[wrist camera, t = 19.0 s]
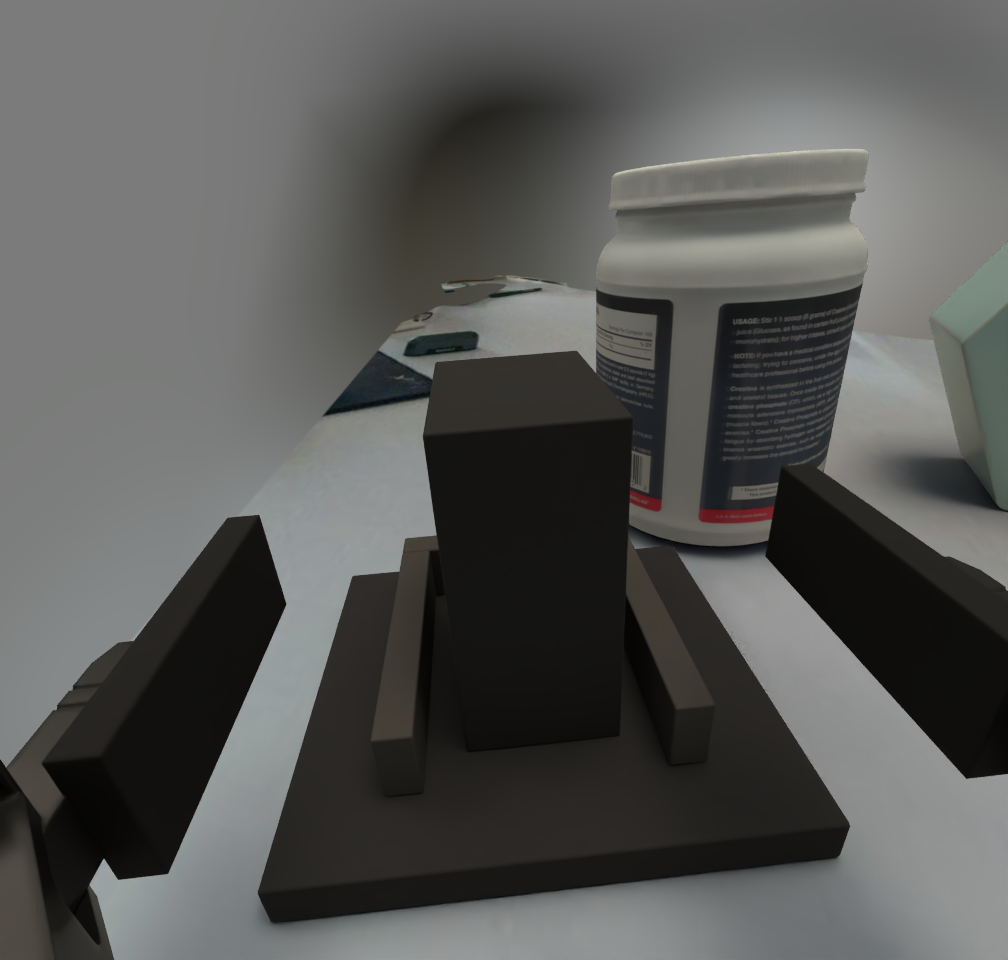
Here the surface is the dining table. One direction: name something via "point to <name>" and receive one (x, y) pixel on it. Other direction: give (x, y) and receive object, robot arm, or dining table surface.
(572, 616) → the tall dark brick
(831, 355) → the supplement tub
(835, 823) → the base pad
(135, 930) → the dining table surface
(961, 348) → the green hexagonal block
